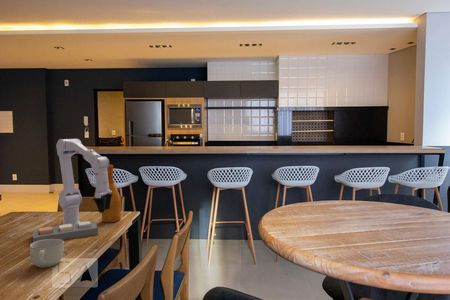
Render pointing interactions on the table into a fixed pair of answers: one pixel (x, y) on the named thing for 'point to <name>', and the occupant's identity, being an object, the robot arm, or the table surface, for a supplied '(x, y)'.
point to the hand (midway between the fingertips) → (104, 210)
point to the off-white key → (65, 227)
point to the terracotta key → (45, 230)
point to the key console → (66, 233)
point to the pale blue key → (84, 224)
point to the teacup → (46, 252)
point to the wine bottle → (112, 200)
